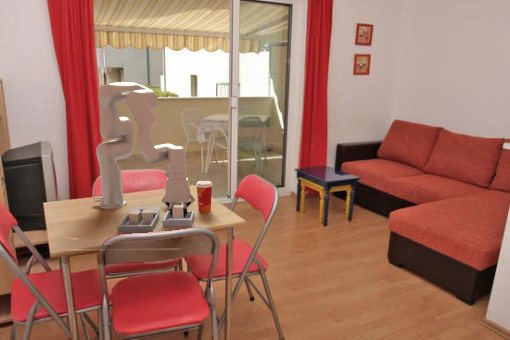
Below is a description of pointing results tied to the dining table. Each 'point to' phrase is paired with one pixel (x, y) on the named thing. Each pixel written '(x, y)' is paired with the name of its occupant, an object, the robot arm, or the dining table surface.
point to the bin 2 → (178, 220)
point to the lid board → (144, 208)
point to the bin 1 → (137, 225)
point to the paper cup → (204, 196)
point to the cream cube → (178, 211)
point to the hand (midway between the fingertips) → (178, 215)
